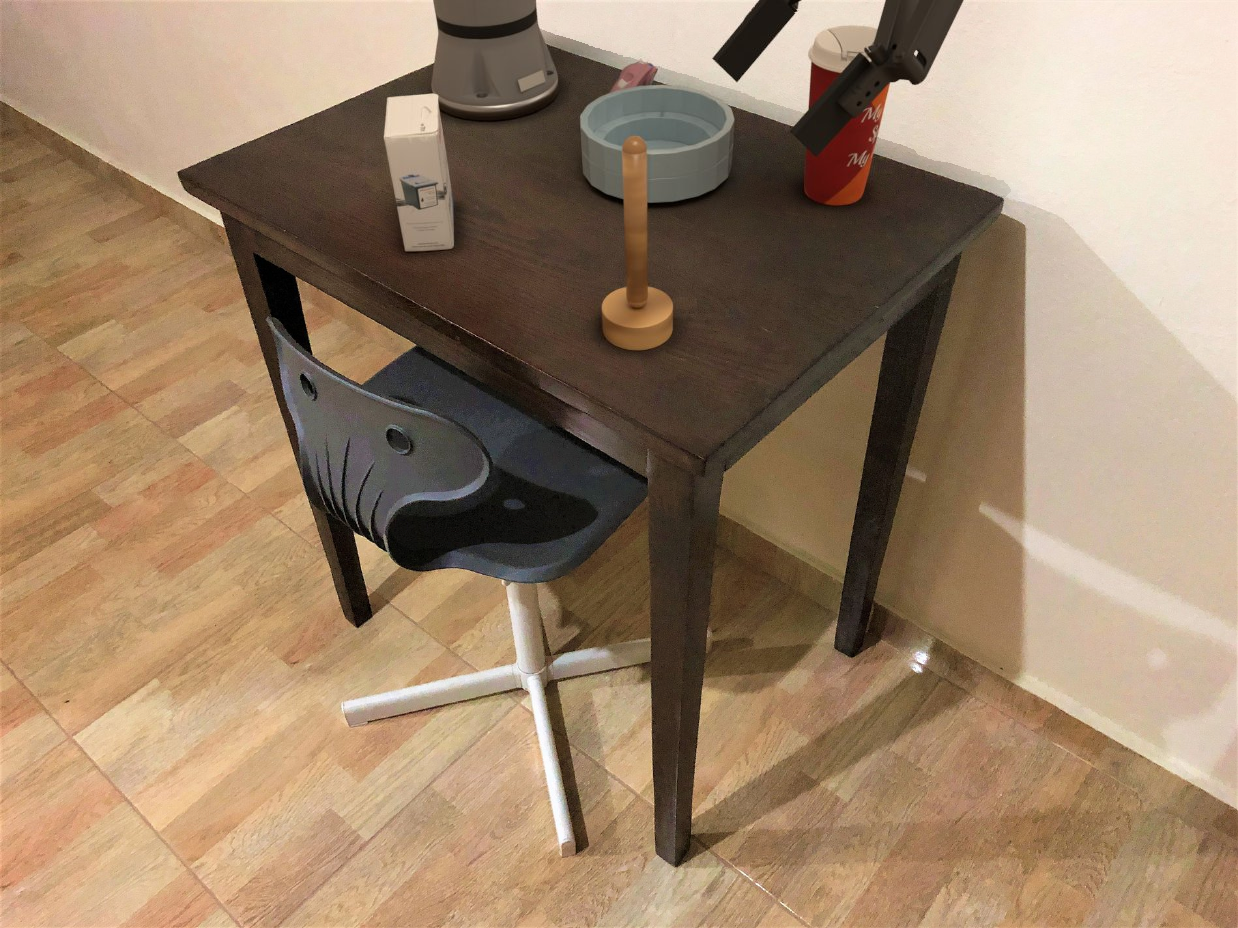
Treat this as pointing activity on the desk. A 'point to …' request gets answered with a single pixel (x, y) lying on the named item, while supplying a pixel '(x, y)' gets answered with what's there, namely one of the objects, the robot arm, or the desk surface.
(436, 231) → the ink box
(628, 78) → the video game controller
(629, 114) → the bowl
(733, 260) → the desk surface
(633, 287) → the wooden paper towel holder
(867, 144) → the coffee cup
